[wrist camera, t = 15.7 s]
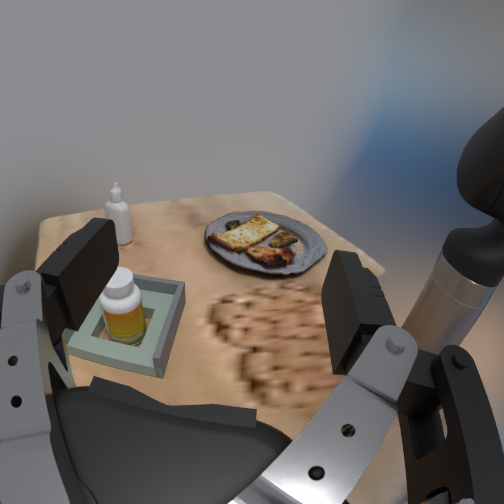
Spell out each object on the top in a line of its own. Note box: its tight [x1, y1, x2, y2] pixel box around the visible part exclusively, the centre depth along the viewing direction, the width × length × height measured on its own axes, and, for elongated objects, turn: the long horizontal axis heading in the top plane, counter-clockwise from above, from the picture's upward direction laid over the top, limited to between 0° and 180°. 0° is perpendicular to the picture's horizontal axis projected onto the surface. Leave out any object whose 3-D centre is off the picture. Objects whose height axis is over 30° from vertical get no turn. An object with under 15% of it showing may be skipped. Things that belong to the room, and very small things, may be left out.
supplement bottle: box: [99, 267, 146, 346], centre depth 34 cm, size 5×5×10 cm
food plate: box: [205, 211, 328, 277], centre depth 60 cm, size 25×23×4 cm
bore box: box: [63, 274, 185, 378], centre depth 36 cm, size 14×14×4 cm
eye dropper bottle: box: [105, 183, 132, 245], centre depth 52 cm, size 4×6×12 cm
